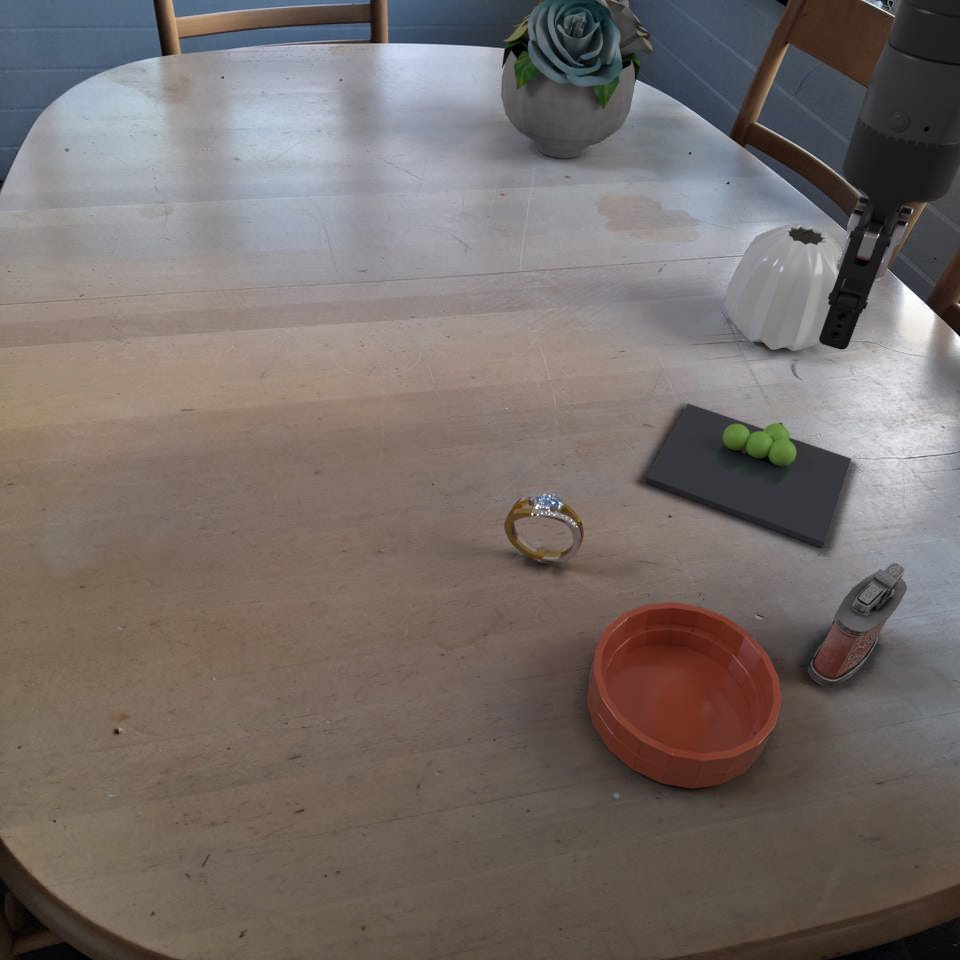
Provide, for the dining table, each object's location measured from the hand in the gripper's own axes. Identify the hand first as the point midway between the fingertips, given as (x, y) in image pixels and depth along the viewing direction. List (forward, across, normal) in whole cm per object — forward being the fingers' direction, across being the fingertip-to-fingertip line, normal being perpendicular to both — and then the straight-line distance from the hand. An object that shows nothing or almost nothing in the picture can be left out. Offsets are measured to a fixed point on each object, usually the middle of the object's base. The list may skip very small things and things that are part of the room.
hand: (843, 319), depth 73 cm
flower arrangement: (+22, +69, +54) cm, 90 cm away
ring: (+23, -16, +17) cm, 33 cm away
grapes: (+20, +6, +4) cm, 22 cm away
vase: (+23, +34, +8) cm, 41 cm away
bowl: (+23, -25, +1) cm, 34 cm away
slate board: (+23, +6, +4) cm, 24 cm away
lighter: (+23, -13, -10) cm, 28 cm away
